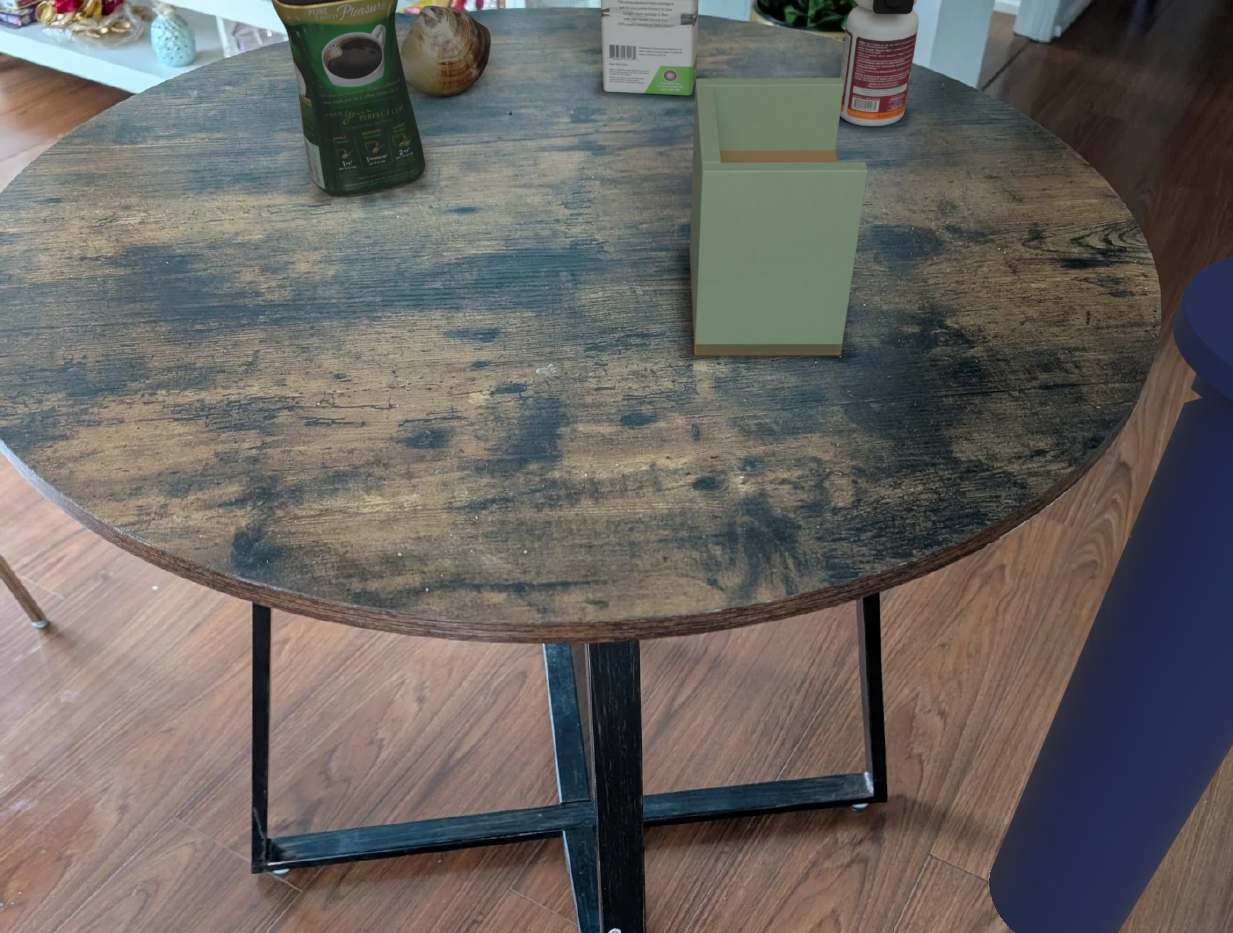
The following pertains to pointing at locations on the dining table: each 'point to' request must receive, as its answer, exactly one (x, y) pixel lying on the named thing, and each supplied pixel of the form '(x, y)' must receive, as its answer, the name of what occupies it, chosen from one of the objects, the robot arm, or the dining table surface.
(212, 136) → the dining table surface
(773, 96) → the green pencil holder
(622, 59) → the ink box
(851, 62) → the pill bottle
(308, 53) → the coffee jar
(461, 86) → the seashell
